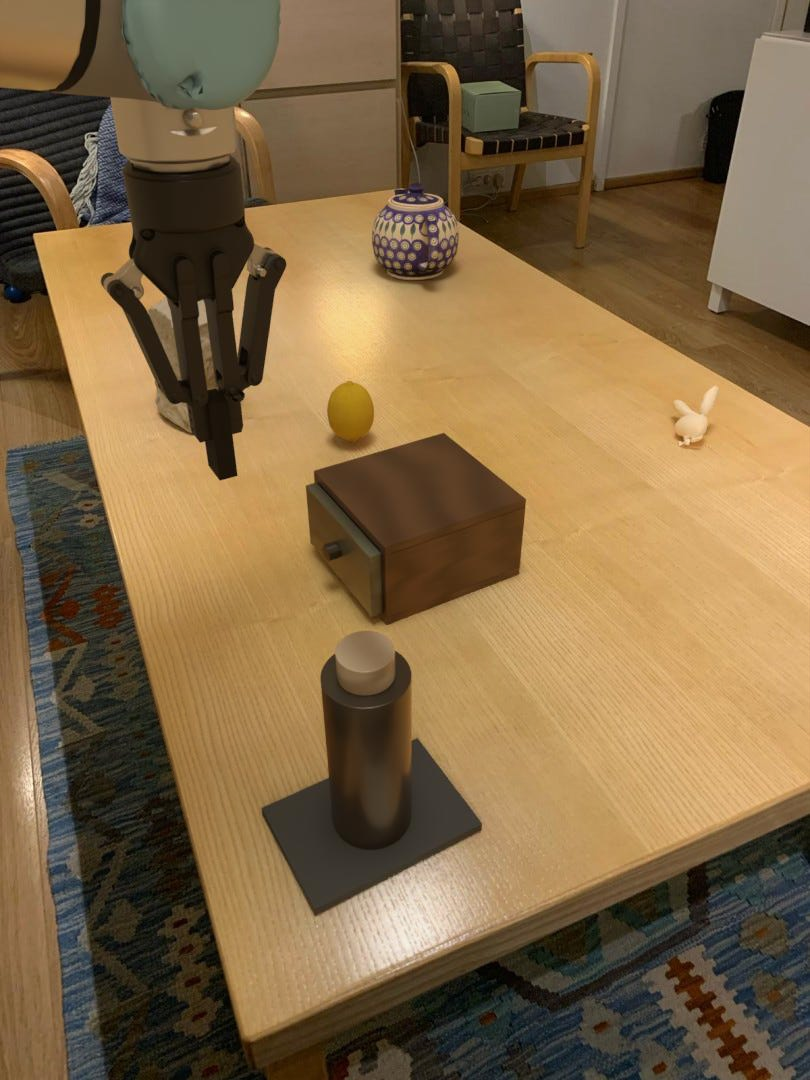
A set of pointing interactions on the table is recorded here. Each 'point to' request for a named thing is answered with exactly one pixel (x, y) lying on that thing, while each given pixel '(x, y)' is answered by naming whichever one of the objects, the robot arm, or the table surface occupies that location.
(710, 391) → the rabbit figurine
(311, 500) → the drawer
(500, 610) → the table surface
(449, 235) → the teapot
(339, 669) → the thermos bottle
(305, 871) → the trivet mat
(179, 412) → the decorative stone
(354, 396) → the lemon
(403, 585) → the cabinet
